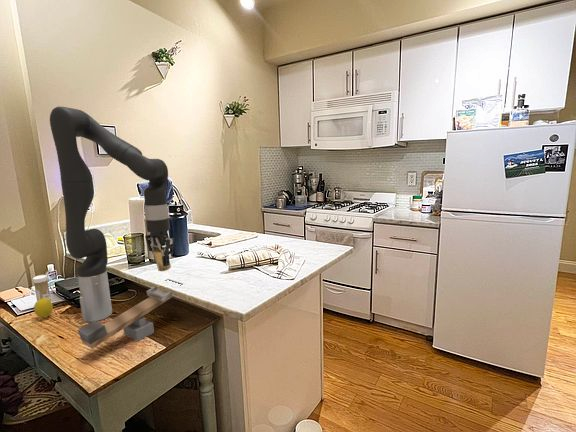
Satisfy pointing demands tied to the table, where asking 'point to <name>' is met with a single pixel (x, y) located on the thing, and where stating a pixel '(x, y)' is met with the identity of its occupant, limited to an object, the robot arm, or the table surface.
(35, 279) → the sprinkles bottle
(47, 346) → the table surface
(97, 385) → the table surface
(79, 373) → the table surface
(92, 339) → the seesaw
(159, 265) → the brass weight
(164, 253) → the robot arm
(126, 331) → the beam stand
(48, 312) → the lemon
